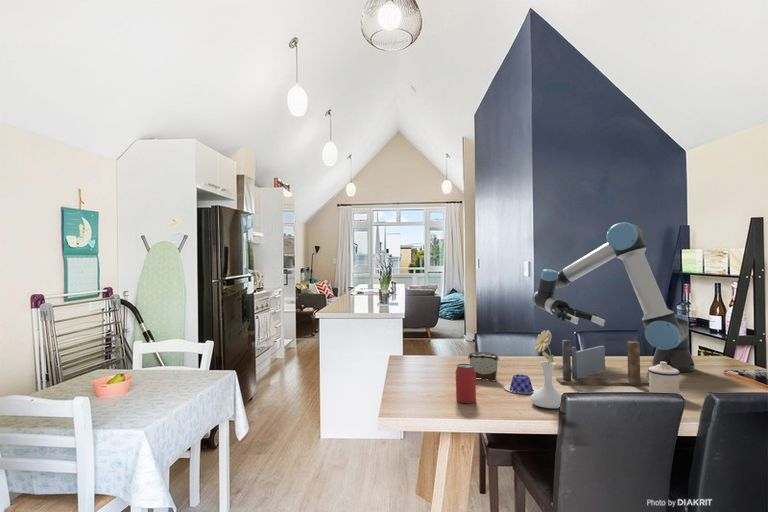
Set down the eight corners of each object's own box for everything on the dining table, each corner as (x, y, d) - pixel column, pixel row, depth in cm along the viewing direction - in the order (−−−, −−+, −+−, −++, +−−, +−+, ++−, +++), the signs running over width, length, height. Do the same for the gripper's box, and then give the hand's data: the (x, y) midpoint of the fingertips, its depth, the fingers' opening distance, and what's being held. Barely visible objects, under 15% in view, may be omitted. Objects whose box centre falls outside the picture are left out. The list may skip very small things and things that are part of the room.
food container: (502, 377, 171) (501, 352, 172) (499, 381, 166) (499, 355, 166) (472, 374, 177) (471, 350, 177) (468, 378, 171) (467, 353, 171)
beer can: (454, 398, 146) (453, 363, 147) (472, 397, 147) (472, 362, 147) (459, 404, 140) (458, 368, 140) (478, 403, 140) (477, 367, 141)
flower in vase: (529, 398, 144) (527, 325, 145) (565, 401, 141) (563, 326, 142) (531, 412, 132) (529, 331, 132) (570, 415, 129) (568, 332, 129)
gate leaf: (602, 369, 175) (601, 340, 175) (605, 370, 173) (605, 341, 173) (571, 378, 163) (570, 347, 163) (575, 379, 161) (574, 347, 162)
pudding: (501, 385, 161) (500, 371, 161) (533, 385, 161) (532, 371, 161) (508, 395, 149) (508, 380, 149) (543, 395, 149) (542, 380, 149)
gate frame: (642, 381, 163) (641, 339, 163) (652, 386, 156) (650, 342, 156) (556, 380, 166) (555, 339, 166) (561, 385, 159) (560, 342, 159)
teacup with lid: (687, 399, 141) (686, 364, 141) (662, 401, 139) (661, 365, 140) (659, 389, 152) (658, 356, 153) (636, 390, 151) (635, 357, 151)
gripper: (577, 316, 201) (612, 332, 181) (533, 313, 194) (564, 329, 174) (580, 301, 200) (616, 315, 180) (536, 297, 193) (568, 311, 173)
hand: (590, 322), depth 177 cm, fingers open, 13 cm apart
